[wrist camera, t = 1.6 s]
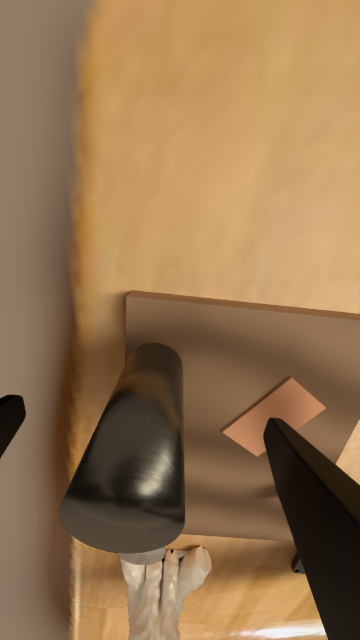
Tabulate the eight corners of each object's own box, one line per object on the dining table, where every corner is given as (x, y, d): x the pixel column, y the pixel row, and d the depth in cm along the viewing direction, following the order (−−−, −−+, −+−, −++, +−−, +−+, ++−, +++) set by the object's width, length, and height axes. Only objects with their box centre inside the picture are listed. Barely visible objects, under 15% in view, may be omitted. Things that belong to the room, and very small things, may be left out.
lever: (165, 532, 18) (154, 721, 11) (124, 529, 18) (85, 718, 11) (192, 333, 11) (212, 484, 4) (127, 327, 11) (31, 471, 4)
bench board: (286, 521, 20) (313, 592, 16) (127, 509, 20) (112, 581, 16) (384, 316, 13) (484, 351, 9) (132, 290, 12) (106, 313, 8)
